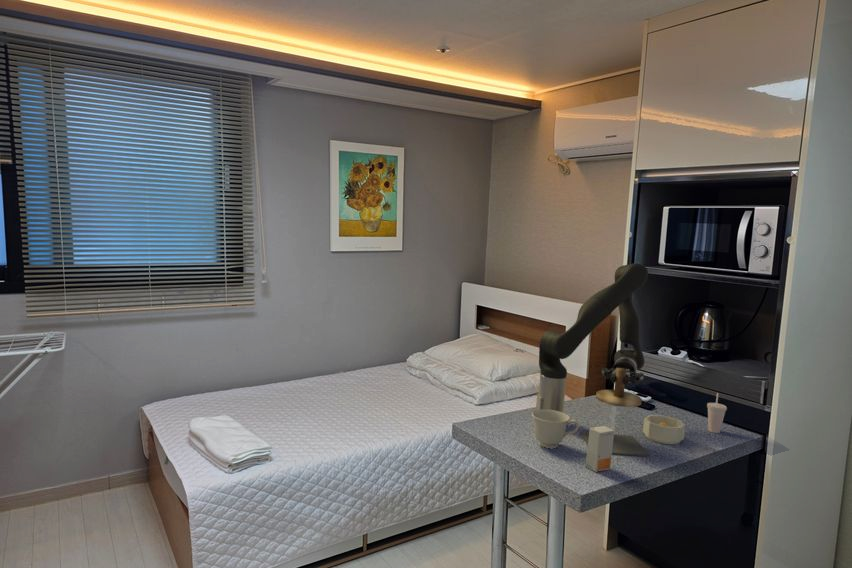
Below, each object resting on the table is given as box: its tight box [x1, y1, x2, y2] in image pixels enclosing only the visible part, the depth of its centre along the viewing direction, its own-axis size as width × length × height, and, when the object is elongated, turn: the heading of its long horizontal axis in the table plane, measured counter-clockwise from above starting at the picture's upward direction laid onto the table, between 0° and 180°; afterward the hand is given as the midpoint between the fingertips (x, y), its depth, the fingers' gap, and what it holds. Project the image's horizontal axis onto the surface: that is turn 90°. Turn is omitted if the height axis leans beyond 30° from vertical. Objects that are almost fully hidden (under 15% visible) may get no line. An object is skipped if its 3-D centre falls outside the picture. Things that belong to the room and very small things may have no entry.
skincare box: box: [585, 425, 615, 473], centre depth 163 cm, size 6×4×12 cm
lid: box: [595, 368, 642, 408], centre depth 180 cm, size 14×14×10 cm
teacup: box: [531, 409, 580, 449], centre depth 178 cm, size 12×15×10 cm
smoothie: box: [706, 392, 728, 434], centre depth 201 cm, size 6×6×14 cm
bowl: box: [642, 414, 686, 446], centre depth 191 cm, size 12×12×6 cm
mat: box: [579, 432, 652, 457], centre depth 183 cm, size 18×16×1 cm
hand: (619, 380), depth 178 cm, fingers closed on lid, 3 cm apart
